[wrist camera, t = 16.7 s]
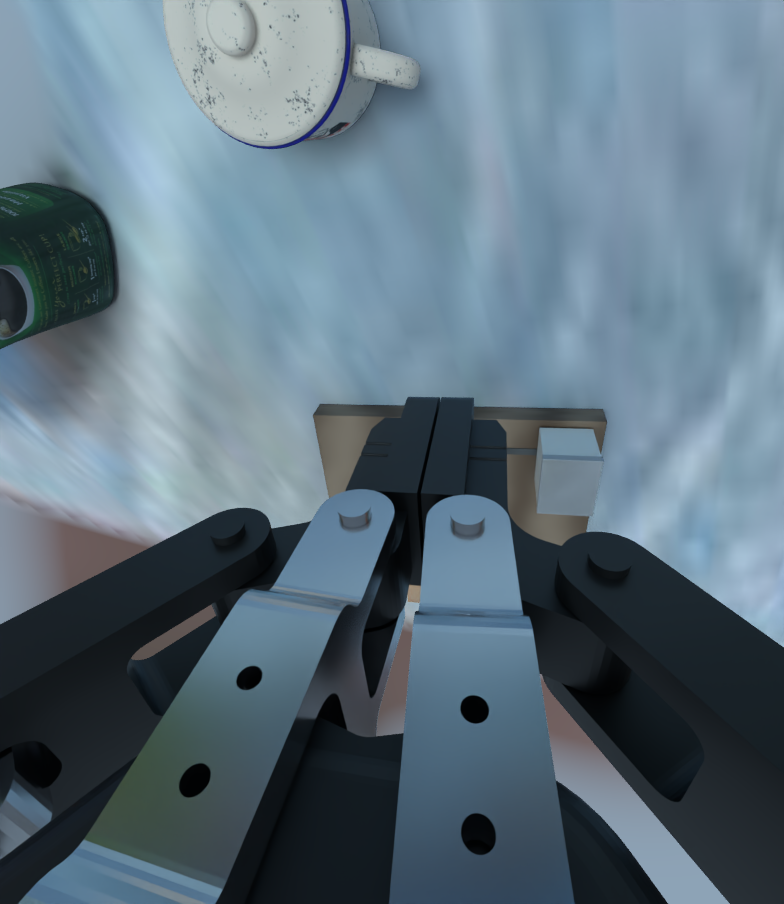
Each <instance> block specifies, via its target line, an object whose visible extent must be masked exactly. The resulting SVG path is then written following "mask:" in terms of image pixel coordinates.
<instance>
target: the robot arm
mask: <svg viewBox="0 0 784 904" xmlns="http://www.w3.org/2000/svg"><path fill="white" fill-rule="evenodd" d="M409 585H416V586H421V591H420V604H419V611H416V612H415V616H414V622H413V632H412V644H411V655H410V667H409V678H408V691H407V701H406V713H405V724H404V733H402V734H394V735H386V736H377V737H376V730H377V719H378V713H379V708H380V704H381V701H382V697H383V694H384V690H385V687H386V683H387V680H388V676H389V672H390V669H391V666H392V662H393V658H394V655H395V652H396V648H397V644H398V641H399V638H400V634H401V631H402V627H403V624H404V619H405V609H404V606H405V603H406V599H407V594H408V589H409ZM209 605H212V607H213V609H214V611H215V614H216V616H215V617H214V618H212V619H211V620H209V621H207V622H206V623H204V624H203V625H201V626H199V627H198V628H196V629H195V630H193V631H192V632H190V633H188V634H187V635H185V636H184V637H182V638H180V639H179V640H177V641H176V642H174V643H172V644H171V645H169V646H168V647H166V648H165V649H163V650H161V651H160V652H158V653H157V654H155V655H154V656H152V657H150V658H147V659H144V660H132V659H131V657H132V656H133V654H134V653H135V652H136V651H137V650H139V649H140V648H141V647H143V646H144V645H146V644H147V643H149V642H151V641H152V640H154V639H155V638H157V637H159V636H160V635H162V634H163V633H165V632H167V631H168V630H170V629H172V628H173V627H175V626H176V625H178V624H180V623H182V622H183V621H185V620H186V619H188V618H190V617H191V616H193V615H194V614H196V613H198V612H199V611H201V610H203V609H204V608H206V607H208V606H209ZM540 674H542V676H543V679H544V682H545V683H546V685H547V687H548V689H549V690H550V692H551V693H552V694H553V695H554V697H555V698H556V699H557V700H558V701H559V702H560V704H561V705H562V706H563V707H564V708H565V709H566V711H567V712H568V713H569V714H570V715H571V717H572V718H573V719H574V720H575V721H576V723H577V724H578V725H579V726H580V727H581V728H582V730H583V731H584V732H585V733H586V734H587V736H588V737H589V738H590V739H591V740H592V741H593V743H594V744H595V745H596V746H597V747H598V748H599V750H600V751H601V752H602V753H603V754H604V756H605V757H606V758H607V759H608V760H609V762H610V763H611V764H612V765H613V766H614V767H615V769H616V770H617V771H618V772H619V773H620V774H621V775H622V777H623V778H624V779H625V780H626V782H627V783H628V784H629V785H630V786H631V787H632V789H633V790H634V791H635V792H636V793H637V794H638V796H639V797H640V798H641V799H642V800H643V802H644V803H645V804H646V805H647V806H648V808H649V809H650V810H651V811H652V812H653V813H654V815H655V816H656V817H657V818H658V819H659V821H660V822H661V823H662V824H663V825H664V826H665V828H666V829H667V830H668V831H669V832H670V834H671V835H672V836H673V837H674V838H675V839H676V840H677V842H678V843H679V844H680V845H681V846H682V848H683V849H684V850H685V851H686V852H687V854H688V855H689V856H690V857H691V858H692V859H693V861H694V862H695V863H696V864H697V865H698V867H699V868H700V869H701V870H702V871H703V872H704V874H705V875H706V876H707V877H708V878H709V880H710V881H711V882H712V883H713V884H714V885H715V887H716V888H717V889H718V890H719V891H720V893H721V894H722V895H723V896H724V897H725V898H726V900H727V901H728V902H729V903H730V904H784V647H782V646H781V645H779V644H778V643H777V642H775V641H774V640H772V639H771V638H770V637H768V636H767V635H765V634H764V633H763V632H761V631H760V630H758V629H757V628H756V627H754V626H753V625H751V624H750V623H749V622H747V621H746V620H744V619H743V618H742V617H740V616H739V615H737V614H736V613H735V612H733V611H732V610H730V609H729V608H728V607H726V606H725V605H723V604H722V603H721V602H719V601H718V600H716V599H715V598H713V597H712V596H711V595H709V594H708V593H706V592H705V591H704V590H702V589H701V588H699V587H698V586H697V585H695V584H694V583H692V582H691V581H690V580H688V579H687V578H685V577H684V576H683V575H681V574H680V573H678V572H677V571H676V570H674V569H673V568H671V567H670V566H669V565H667V564H666V563H664V562H663V561H662V560H660V559H659V558H657V557H656V556H655V555H653V554H652V553H650V552H649V551H648V550H646V549H645V548H643V547H642V546H640V545H639V544H637V543H636V542H634V541H632V540H630V539H628V538H625V537H622V536H619V535H616V534H612V533H606V532H586V533H581V534H578V535H575V536H573V537H571V538H570V539H568V540H567V541H566V542H565V543H564V544H563V545H562V546H560V545H557V544H554V543H550V542H547V541H544V540H541V539H539V538H536V537H534V536H532V535H530V534H528V533H527V532H525V531H524V530H522V529H521V528H520V527H519V526H517V524H516V523H515V522H514V521H513V519H512V518H511V516H510V514H509V511H508V490H507V432H506V431H505V430H504V429H503V427H502V426H501V425H500V423H499V422H498V421H497V420H483V419H474V398H451V397H442V398H441V402H440V398H439V397H408V398H407V400H406V403H405V406H404V409H403V412H402V415H401V418H389V417H385V418H384V419H383V420H381V421H380V422H379V423H378V424H377V425H375V426H374V427H373V428H372V429H371V431H370V433H369V436H368V438H367V440H366V445H364V447H363V450H362V452H361V456H360V457H359V459H358V461H357V464H356V466H355V469H354V471H353V473H352V476H351V478H350V480H349V483H348V485H347V487H346V490H345V492H341V493H339V494H336V495H334V496H333V497H331V498H329V499H328V500H326V501H325V502H324V503H323V504H322V505H321V506H320V508H319V509H318V511H317V513H316V514H315V516H314V518H313V519H312V521H309V522H306V523H302V524H296V525H290V526H284V527H278V528H273V529H271V525H270V522H269V520H268V518H267V516H266V515H265V514H263V513H262V512H260V511H258V510H255V509H251V508H235V509H230V510H225V511H223V512H220V513H217V514H215V515H213V516H211V517H209V518H207V519H205V520H203V521H201V522H199V523H197V524H195V525H193V526H191V527H189V528H187V529H185V530H183V531H182V532H180V533H178V534H176V535H174V536H172V537H170V538H168V539H166V540H164V541H162V542H160V543H158V544H156V545H154V546H152V547H150V548H148V549H147V550H145V551H143V552H141V553H139V554H137V555H135V556H133V557H131V558H129V559H127V560H125V561H123V562H121V563H119V564H117V565H115V566H113V567H111V568H109V569H108V570H105V571H104V572H102V573H100V574H98V575H96V576H94V577H92V578H90V579H88V580H86V581H84V582H82V583H80V584H78V585H77V586H74V587H72V588H70V589H68V590H67V591H65V592H63V593H61V594H59V595H57V596H55V597H53V598H51V599H49V600H47V601H45V602H43V603H41V604H39V605H37V606H35V607H33V608H32V609H29V610H27V611H26V612H24V613H22V614H20V615H18V616H16V617H14V618H12V619H10V620H8V621H6V622H4V623H2V624H0V904H668V903H667V902H666V900H665V899H664V898H663V896H662V895H661V893H660V892H659V891H658V889H657V888H656V887H655V885H654V884H653V882H652V881H651V880H650V878H649V877H648V875H647V874H646V873H645V871H644V870H643V869H642V867H641V866H640V865H639V863H638V862H637V860H636V859H635V858H634V856H633V855H632V853H631V852H630V851H629V849H628V848H627V847H626V846H625V844H624V843H623V842H622V840H621V839H620V838H619V837H618V835H617V834H616V833H615V832H614V831H613V830H612V829H611V828H610V826H609V825H608V824H607V823H606V822H605V821H604V820H603V819H602V818H601V816H599V815H598V814H597V813H596V812H595V811H594V810H593V809H592V808H591V807H590V806H589V805H587V804H586V803H585V802H584V801H583V800H582V799H581V798H580V797H578V796H577V795H576V794H574V793H573V792H572V791H570V790H569V789H568V788H566V787H565V786H564V785H562V784H561V783H559V782H558V781H556V779H555V772H554V765H553V760H552V752H551V746H550V739H549V733H548V726H547V719H546V713H545V706H544V700H543V693H542V687H541V680H540Z"/></svg>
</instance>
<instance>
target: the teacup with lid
mask: <svg viewBox="0 0 784 904" xmlns="http://www.w3.org/2000/svg"><path fill="white" fill-rule="evenodd" d="M163 17H164V26H165V32H166V37H167V41H168V46H169V50H170V53H171V56H172V59H173V62H174V64H175V67H176V70H177V72H178V74H179V76H180V79H181V81H182V83H183V84H184V86H185V88H186V90H187V92H188V93H189V95H190V96H191V98H192V99H193V101H194V102H195V104H196V105H197V106H198V108H199V109H200V110H201V111H202V112H203V113H204V115H205V116H206V117H207V118H208V119H209V120H210V121H211V122H212V123H214V124H215V125H216V126H217V127H218V128H219V129H220V130H222V131H223V132H224V133H226V134H227V135H229V136H230V137H232V138H234V139H236V140H237V141H239V142H242V143H244V144H247V145H250V146H253V147H257V148H263V149H279V148H285V147H289V146H292V145H295V144H297V143H299V142H301V141H305V140H316V139H325V138H330V137H333V136H336V135H338V134H340V133H342V132H344V131H345V130H347V129H348V128H350V127H351V126H352V125H353V124H354V123H355V122H356V121H357V120H358V119H359V118H360V117H361V116H362V114H363V113H364V111H365V110H366V108H367V106H368V105H369V103H370V101H371V98H372V96H373V94H374V91H375V88H376V84H377V83H381V84H386V85H390V86H394V87H399V88H404V89H414V88H415V87H416V86H417V84H418V81H419V76H420V65H419V63H418V62H417V61H416V60H415V59H413V58H410V57H407V56H404V55H401V54H397V53H394V52H390V51H386V50H382V49H380V40H379V33H378V28H377V24H376V20H375V17H374V14H373V11H372V9H371V6H370V4H369V2H368V0H163Z"/></svg>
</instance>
